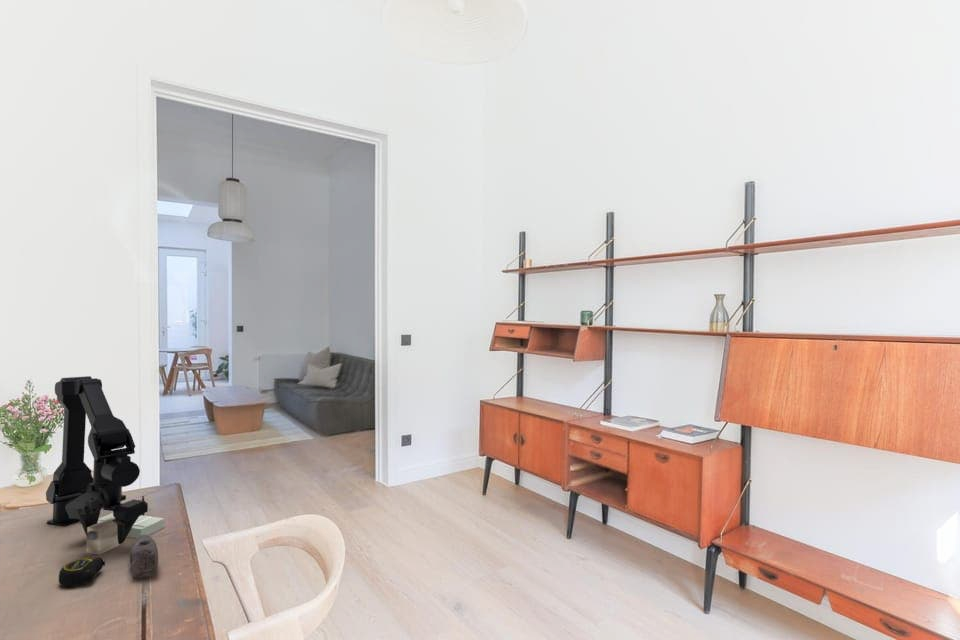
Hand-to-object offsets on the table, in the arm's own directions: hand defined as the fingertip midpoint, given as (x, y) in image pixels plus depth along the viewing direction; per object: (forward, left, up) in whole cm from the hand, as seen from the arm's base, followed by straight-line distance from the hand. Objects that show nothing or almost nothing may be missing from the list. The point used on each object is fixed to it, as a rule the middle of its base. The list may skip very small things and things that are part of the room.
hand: (105, 541), depth 119 cm
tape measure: (+9, -13, -2) cm, 16 cm away
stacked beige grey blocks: (0, 0, -2) cm, 2 cm away
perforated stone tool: (+17, -6, -2) cm, 18 cm away
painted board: (-4, +9, -2) cm, 10 cm away
